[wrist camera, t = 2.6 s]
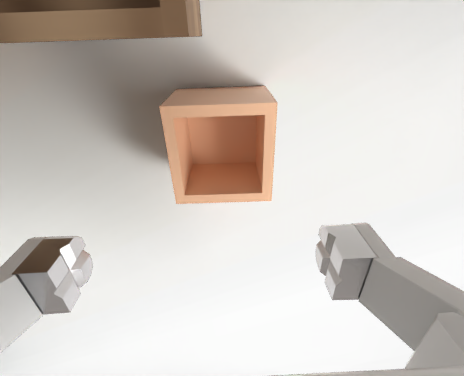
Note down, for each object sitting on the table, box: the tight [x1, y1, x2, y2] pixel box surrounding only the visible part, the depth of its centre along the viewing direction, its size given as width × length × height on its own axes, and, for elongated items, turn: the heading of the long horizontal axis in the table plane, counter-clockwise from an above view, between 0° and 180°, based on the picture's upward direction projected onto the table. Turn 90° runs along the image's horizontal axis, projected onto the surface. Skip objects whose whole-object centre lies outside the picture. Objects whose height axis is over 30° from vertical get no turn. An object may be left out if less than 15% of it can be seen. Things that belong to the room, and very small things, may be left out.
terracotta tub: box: [159, 86, 277, 204], centre depth 16 cm, size 6×6×5 cm
